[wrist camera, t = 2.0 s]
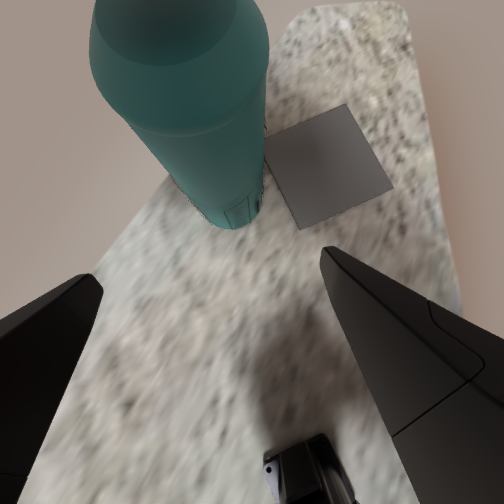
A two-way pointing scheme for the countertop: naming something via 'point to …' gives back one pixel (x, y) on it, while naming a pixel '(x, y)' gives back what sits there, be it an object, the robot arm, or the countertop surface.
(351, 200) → the mat
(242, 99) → the beverage bottle
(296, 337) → the countertop surface
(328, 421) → the countertop surface
